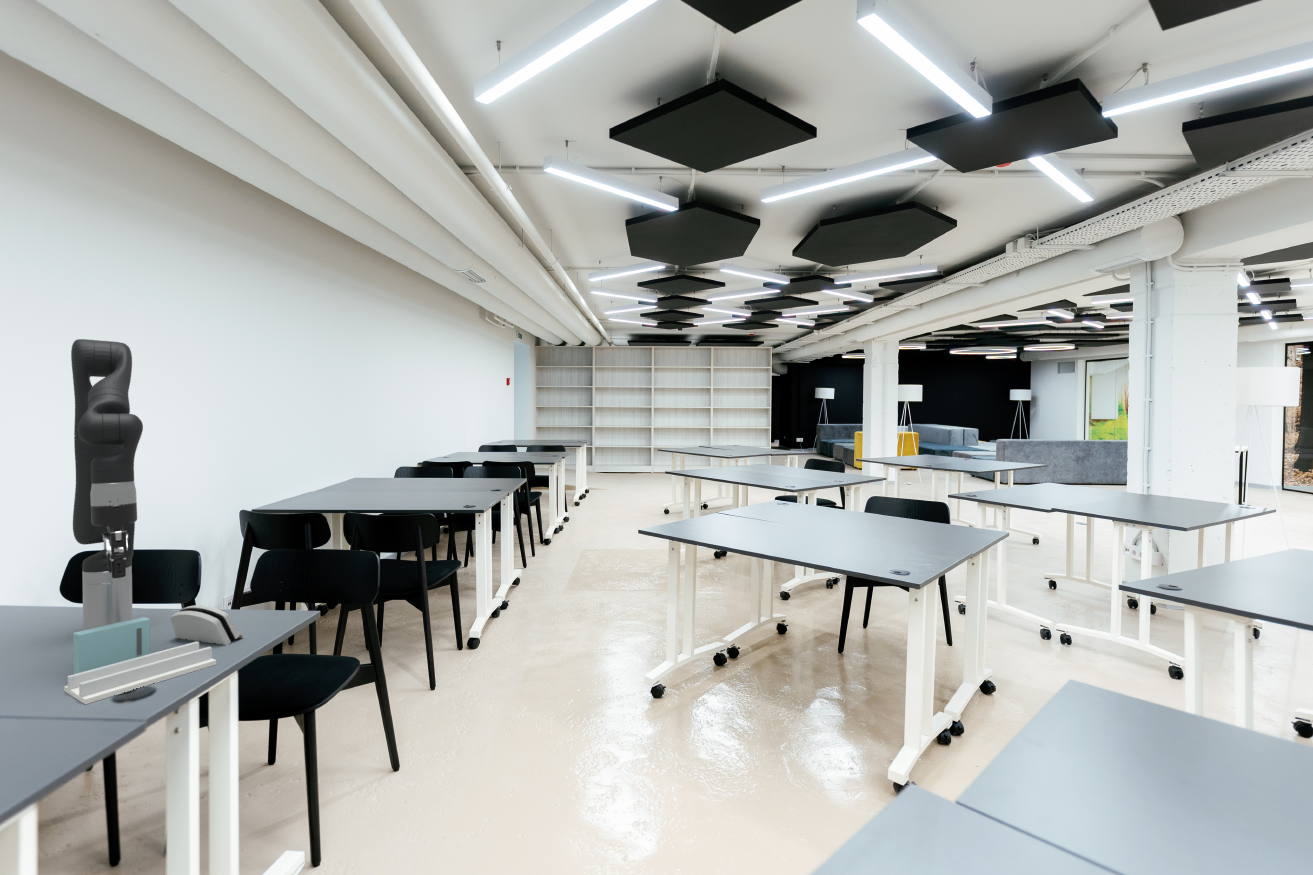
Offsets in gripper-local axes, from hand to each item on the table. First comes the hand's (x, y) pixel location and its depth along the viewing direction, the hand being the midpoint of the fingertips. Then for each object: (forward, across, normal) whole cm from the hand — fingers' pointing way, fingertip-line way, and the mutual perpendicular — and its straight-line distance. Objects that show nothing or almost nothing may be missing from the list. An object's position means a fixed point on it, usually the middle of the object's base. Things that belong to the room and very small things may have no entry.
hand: (116, 574), depth 130 cm
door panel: (+21, +2, -1) cm, 21 cm away
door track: (+21, +11, +3) cm, 24 cm away
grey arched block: (+21, -6, +16) cm, 27 cm away
